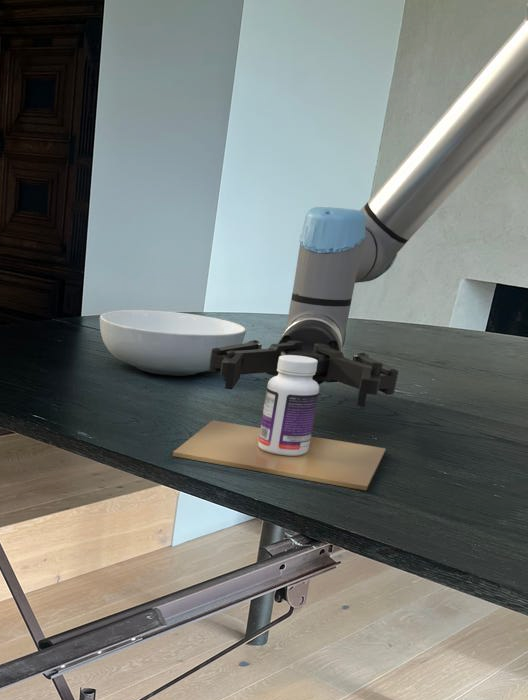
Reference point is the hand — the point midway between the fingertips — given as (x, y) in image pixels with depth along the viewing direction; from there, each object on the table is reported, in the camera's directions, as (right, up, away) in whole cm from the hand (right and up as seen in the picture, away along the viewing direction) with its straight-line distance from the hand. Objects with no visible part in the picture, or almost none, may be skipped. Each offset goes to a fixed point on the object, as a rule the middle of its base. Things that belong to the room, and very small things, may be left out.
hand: (295, 384), depth 102 cm
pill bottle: (0, -6, +5) cm, 8 cm away
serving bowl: (-8, +13, +42) cm, 45 cm away
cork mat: (0, -6, +5) cm, 8 cm away
